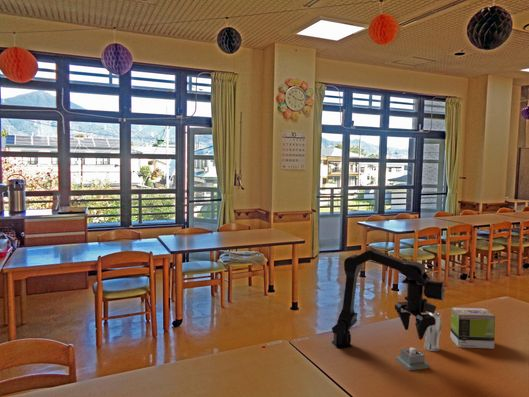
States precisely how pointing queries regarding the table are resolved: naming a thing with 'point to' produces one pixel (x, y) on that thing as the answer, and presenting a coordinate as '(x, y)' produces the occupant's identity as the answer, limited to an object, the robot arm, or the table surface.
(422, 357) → the square ring block
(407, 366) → the shaft block
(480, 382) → the table surface
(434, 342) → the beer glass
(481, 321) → the tea box
